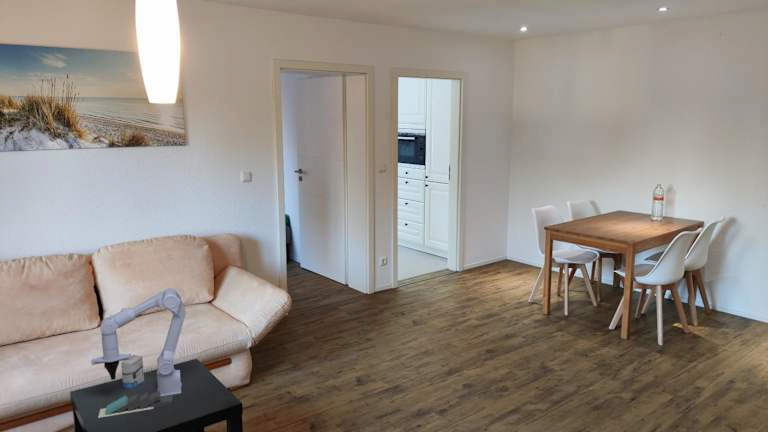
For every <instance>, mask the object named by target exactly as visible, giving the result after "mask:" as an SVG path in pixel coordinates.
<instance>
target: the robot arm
mask: <svg viewBox="0 0 768 432" xmlns="http://www.w3.org/2000/svg"><path fill="white" fill-rule="evenodd" d="M163 307H164V308H165V309H167V310H168V311H170V313H171V314H172V316H171V321H170V325H169V328H168V331H167V336H166V339H165V342H164V347H163V348H162V351H161V353H160V354H159V356H157V361H156V362H157V363H156V364H157V370H156V379H157V391H158V390H159V391H160V393H161V395H160V397H164V396H173V395H179V394H182V387H183V383H182V380H181V378H182V377H181V370H180V369H175V367H174V359H175V354H176V349H177V346H178V342H179V338H180V335H181V332H182V329H183V324H184V321H185V318H186V313H187V312H186V311H187V310H186V308H185V306H184V303H183V299H182V297H181V295H180V293H178V292H177V290H175V289H174V288H167V289H164V290H163V291H160V292H158V293H157V294H155V295H153V296H152V297H149V298H148V299H146V300H145V301H143V302H140V303H139V304H137V305H136V306H134V307H132V308H131V307H126V308H124V307H123V308H121V309H120V311H119V312H116V313H115V314H110V315H109V316H107V317H105V318H103V319H102V321H101V322H100V326H99V328H100V329H99V330H100V332H101V344H102V345H101V346H102V354H103V356H101V357H97V358H92V359H91V360H90V361H91V366H95V365H101V364H104V368H105V370H106V371H107V372H108V375H109V376H110V380H111V381H113V380H116V377H117V376H116V374H117V370H118V366H119V365H120V362H122V361H124V360H131V356H132V353H128V354H127V353H126V354H125V353H124V354H123V353H122V354H120V351H119V338H118V334H117V329H120V328H122V327H123V326H126V325H127V324H129V323H131V322H133V321H135V319H136V317H137V316H138V315H140V314H142V313H144V312H147V311H149V310H151V309H153V308H160V309H162V308H163Z"/></svg>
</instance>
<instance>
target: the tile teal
mask: <svg viewBox="0 0 768 432" xmlns="http://www.w3.org/2000/svg"><path fill="white" fill-rule="evenodd" d="M128 398H129V397H128V396H127V395H124V396H122V397H120V398H119V399H117V400H115V401H113V402H111V403H110V404H108V405H106V407H105V408H106V410H105V412H106V414H107V415H108V414H110V413H112V412H114V411H115V410H117V409H119V408H121V407H123V406H125V405H126V404H127V402H128Z"/></svg>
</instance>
